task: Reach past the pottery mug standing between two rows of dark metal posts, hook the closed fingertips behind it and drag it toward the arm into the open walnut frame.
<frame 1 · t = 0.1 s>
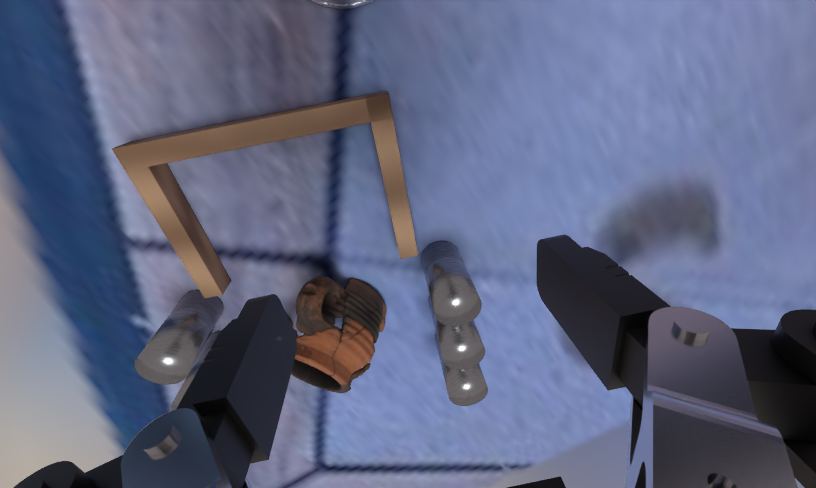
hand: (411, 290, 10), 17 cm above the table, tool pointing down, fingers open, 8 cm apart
metal posts: (336, 321, 33), on the table
pottery mug: (333, 304, 32), on the table
walnut frame: (295, 212, 27), on the table
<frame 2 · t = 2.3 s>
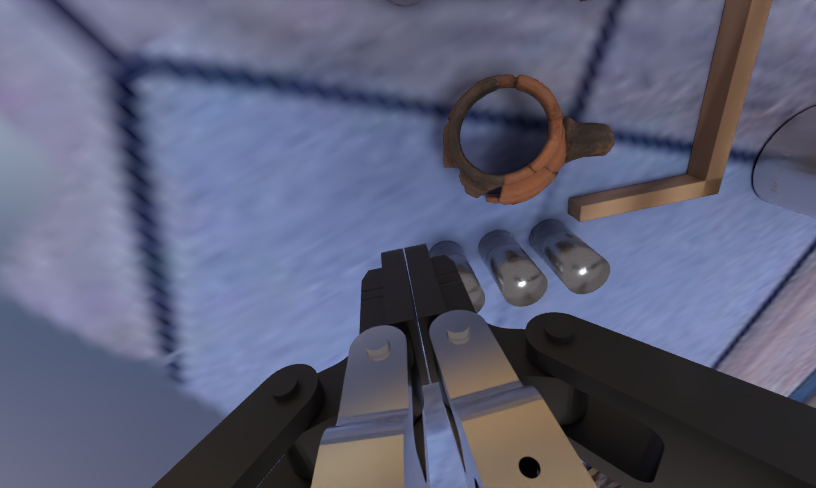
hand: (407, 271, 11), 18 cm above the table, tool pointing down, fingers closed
metal posts: (489, 130, 27), on the table
pottery mug: (506, 139, 28), on the table
ceramic jug: (607, 468, 54), on the table
walnut frame: (634, 100, 27), on the table
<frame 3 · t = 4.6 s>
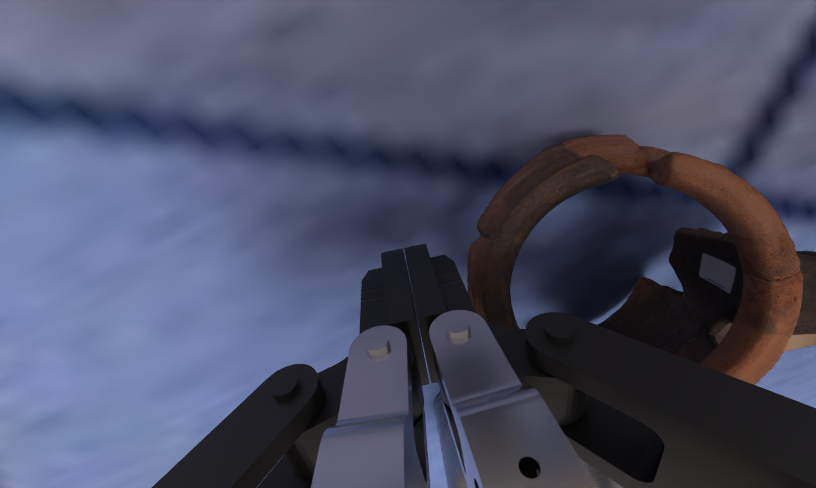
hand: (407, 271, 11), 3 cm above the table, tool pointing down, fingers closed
metal posts: (560, 203, 13), on the table
pottery mug: (584, 241, 15), on the table, touching gripper
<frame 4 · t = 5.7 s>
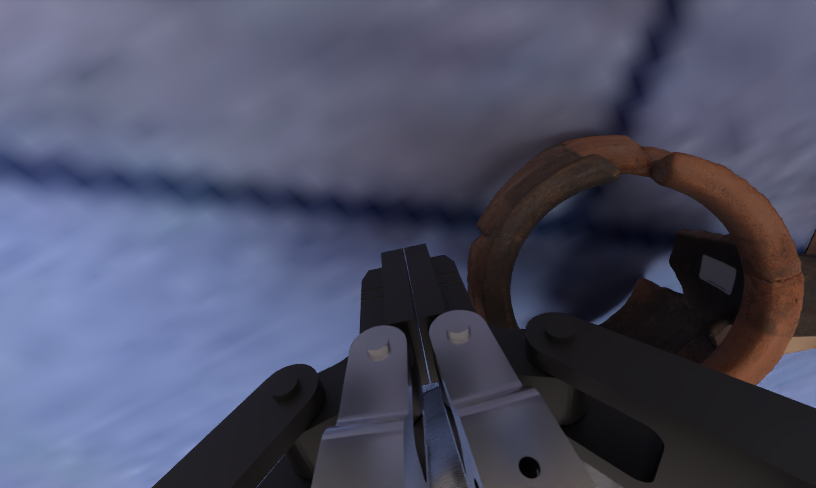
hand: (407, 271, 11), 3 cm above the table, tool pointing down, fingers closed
metal posts: (411, 235, 14), on the table
pottery mug: (584, 242, 15), on the table, touching gripper
walnut frame: (705, 177, 13), on the table
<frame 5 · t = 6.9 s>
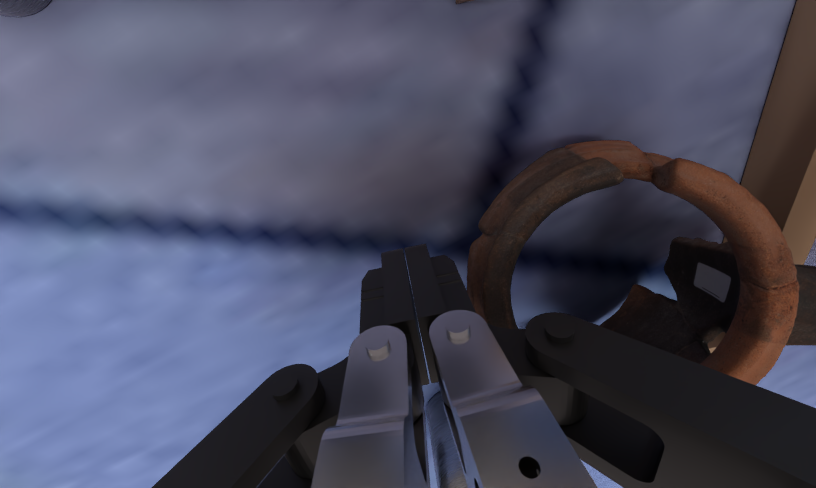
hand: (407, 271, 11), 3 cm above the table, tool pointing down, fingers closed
metal posts: (307, 259, 14), on the table
pottery mug: (582, 246, 15), on the table, touching gripper
walnut frame: (597, 201, 14), on the table
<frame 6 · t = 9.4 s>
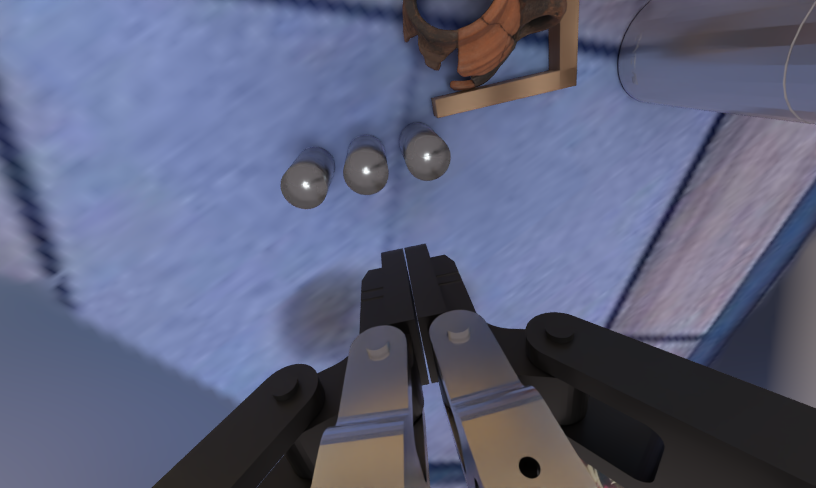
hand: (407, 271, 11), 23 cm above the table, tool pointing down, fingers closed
metal posts: (331, 19, 27), on the table
pottery mug: (469, 24, 29), on the table, touching walnut frame
ceramic jug: (537, 410, 54), on the table
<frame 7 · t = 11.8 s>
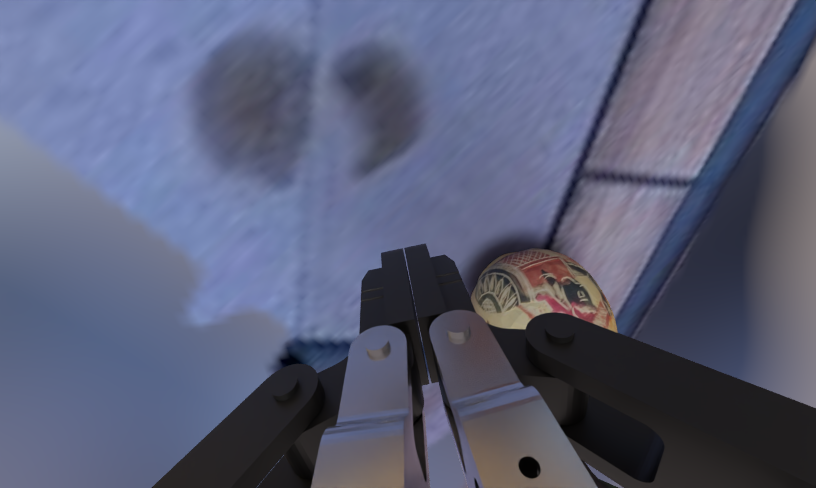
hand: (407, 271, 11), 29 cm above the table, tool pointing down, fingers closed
ceramic jug: (505, 275, 48), on the table
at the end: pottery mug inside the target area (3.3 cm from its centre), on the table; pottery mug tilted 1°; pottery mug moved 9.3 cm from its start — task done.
